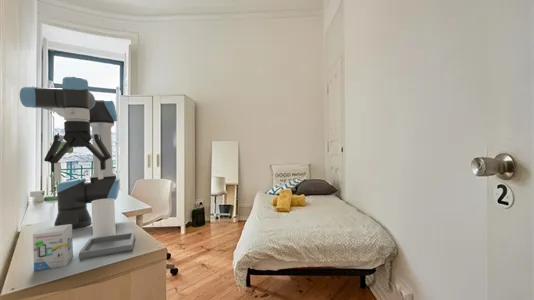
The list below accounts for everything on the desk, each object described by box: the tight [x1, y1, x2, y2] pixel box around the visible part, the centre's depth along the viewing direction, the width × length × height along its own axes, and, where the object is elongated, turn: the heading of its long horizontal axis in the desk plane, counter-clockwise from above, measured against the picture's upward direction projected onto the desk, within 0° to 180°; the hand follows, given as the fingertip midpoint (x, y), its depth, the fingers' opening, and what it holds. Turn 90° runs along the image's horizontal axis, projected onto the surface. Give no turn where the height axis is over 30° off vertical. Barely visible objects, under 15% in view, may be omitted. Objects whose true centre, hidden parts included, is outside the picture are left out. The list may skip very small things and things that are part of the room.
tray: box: [78, 231, 136, 261], centre depth 100 cm, size 16×16×2 cm
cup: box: [91, 198, 117, 238], centre depth 112 cm, size 8×8×16 cm
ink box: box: [32, 224, 74, 271], centre depth 87 cm, size 8×8×12 cm
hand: (79, 180), depth 94 cm, fingers open, 13 cm apart
